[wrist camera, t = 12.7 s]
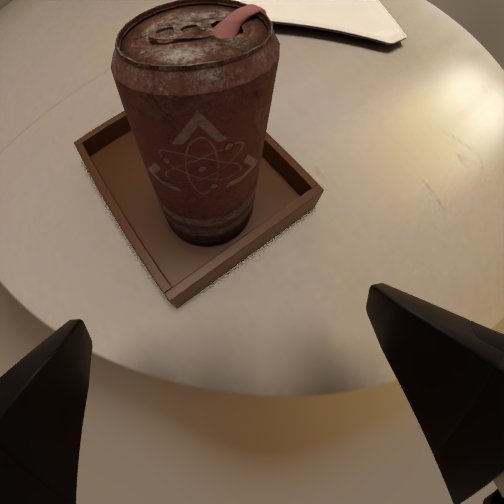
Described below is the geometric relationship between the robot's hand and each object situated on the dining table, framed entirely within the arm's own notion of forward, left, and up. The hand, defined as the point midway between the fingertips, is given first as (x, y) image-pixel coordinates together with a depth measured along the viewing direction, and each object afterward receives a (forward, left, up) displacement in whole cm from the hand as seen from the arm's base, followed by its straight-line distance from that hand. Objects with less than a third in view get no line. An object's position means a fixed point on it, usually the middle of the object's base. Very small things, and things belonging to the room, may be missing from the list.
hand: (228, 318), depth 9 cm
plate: (+32, -38, -11) cm, 51 cm away
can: (+8, -4, -10) cm, 14 cm away
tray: (+11, -5, -11) cm, 16 cm away
